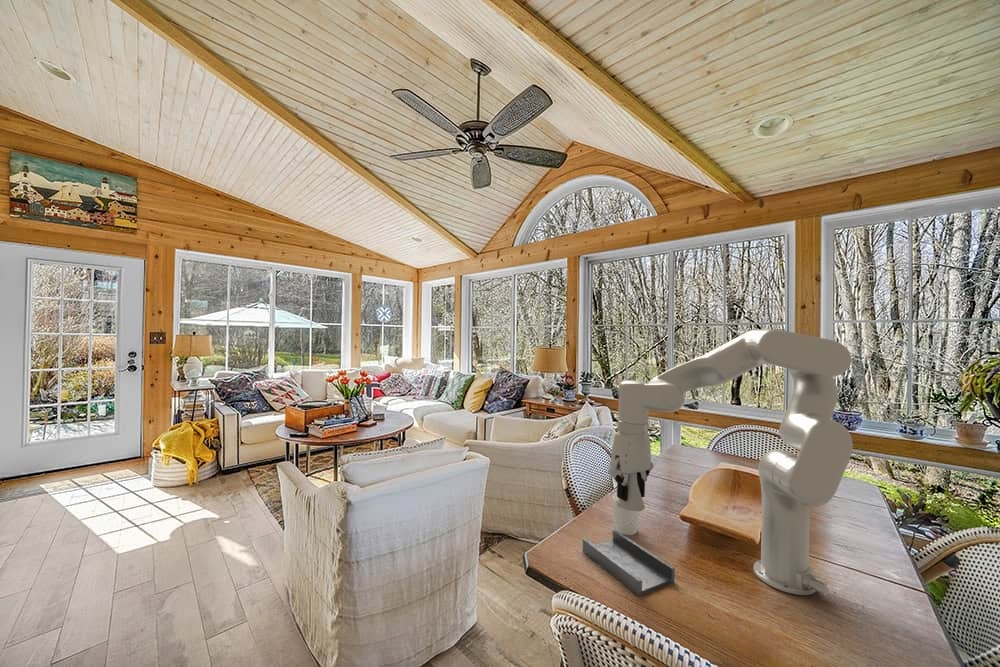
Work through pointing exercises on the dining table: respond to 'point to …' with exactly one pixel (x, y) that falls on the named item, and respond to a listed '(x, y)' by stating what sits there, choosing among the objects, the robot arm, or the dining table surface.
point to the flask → (632, 495)
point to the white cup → (624, 519)
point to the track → (630, 564)
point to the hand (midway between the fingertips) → (630, 496)
